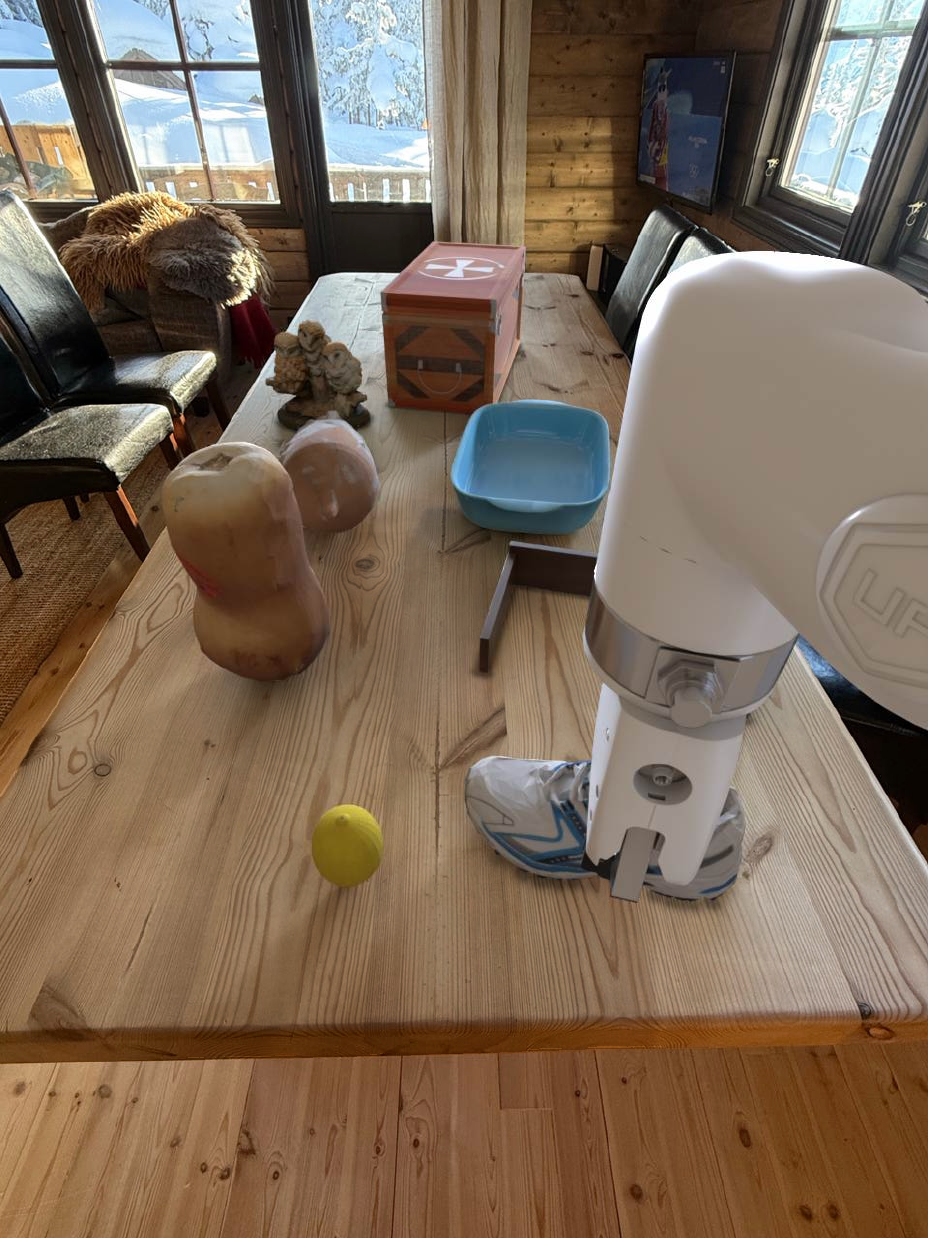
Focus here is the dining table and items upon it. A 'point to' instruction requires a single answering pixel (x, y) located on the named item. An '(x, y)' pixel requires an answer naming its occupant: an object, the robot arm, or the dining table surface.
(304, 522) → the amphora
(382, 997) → the dining table surface
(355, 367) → the owl figurine
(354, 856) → the lemon
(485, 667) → the shoe rack
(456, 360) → the wooden box
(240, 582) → the butternut squash
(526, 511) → the casserole dish
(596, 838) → the robot arm
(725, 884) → the athletic shoe
